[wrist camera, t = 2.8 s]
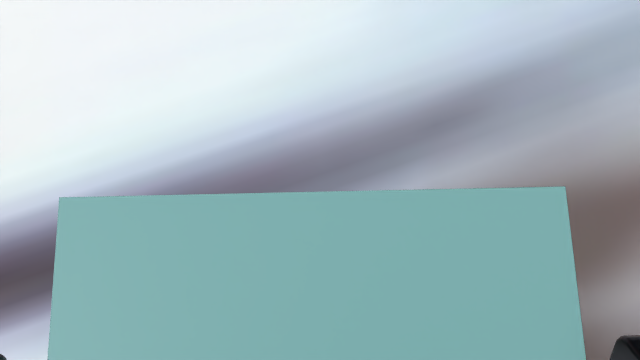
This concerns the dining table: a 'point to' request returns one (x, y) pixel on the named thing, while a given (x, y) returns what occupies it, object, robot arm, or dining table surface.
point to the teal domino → (317, 276)
